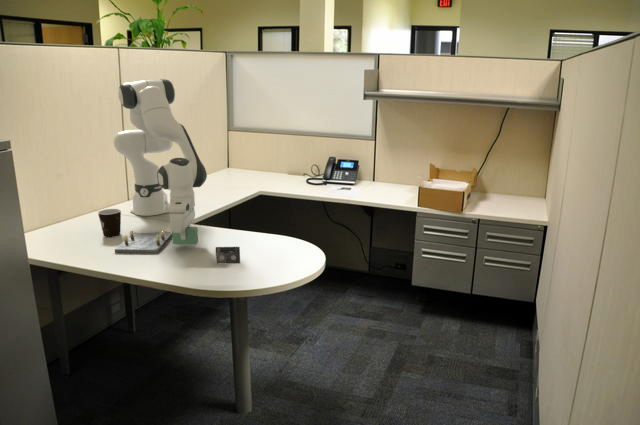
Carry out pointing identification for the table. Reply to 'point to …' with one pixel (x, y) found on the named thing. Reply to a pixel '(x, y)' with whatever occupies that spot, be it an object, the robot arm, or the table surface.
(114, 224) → the coffee mug
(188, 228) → the green block
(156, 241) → the chassis plate
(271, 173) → the table surface
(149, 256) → the table surface
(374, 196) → the table surface
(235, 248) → the mini dv tape
